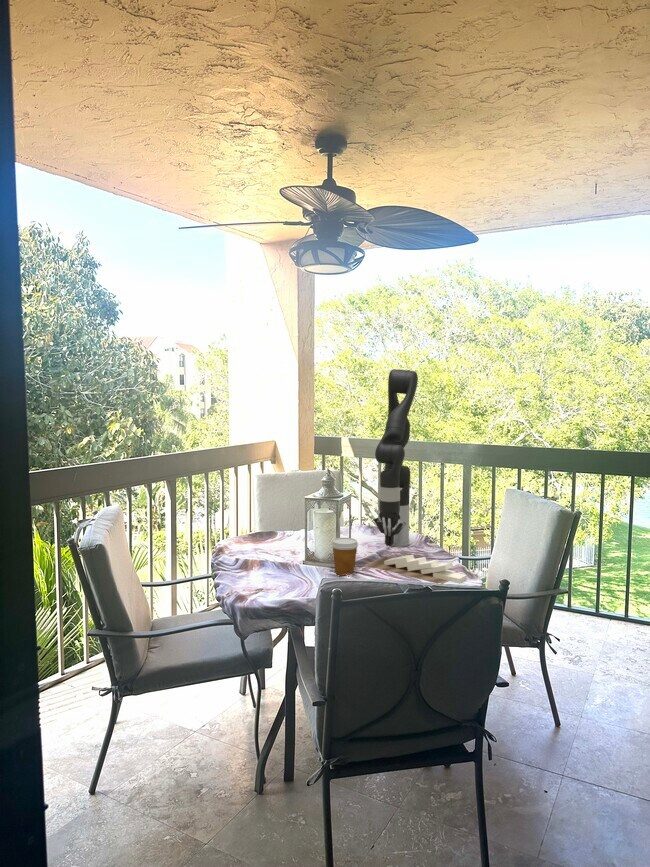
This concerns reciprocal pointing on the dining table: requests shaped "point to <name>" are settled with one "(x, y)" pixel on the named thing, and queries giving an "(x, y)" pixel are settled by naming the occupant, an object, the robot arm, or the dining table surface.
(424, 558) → the domino
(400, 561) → the domino
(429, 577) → the walnut board
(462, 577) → the domino
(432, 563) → the domino
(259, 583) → the dining table surface
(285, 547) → the dining table surface
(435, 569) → the domino
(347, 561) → the disposable coffee cup
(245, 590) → the dining table surface
